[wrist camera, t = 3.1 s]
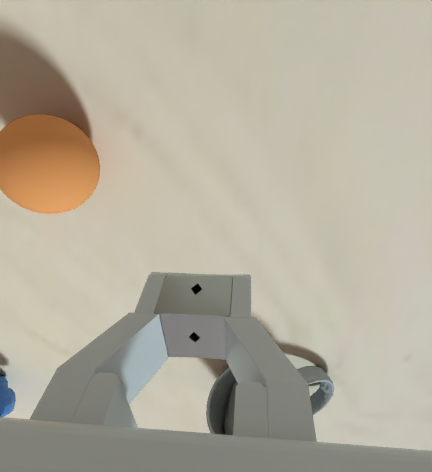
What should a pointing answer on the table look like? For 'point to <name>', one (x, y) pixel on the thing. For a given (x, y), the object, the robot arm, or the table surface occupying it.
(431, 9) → the table surface
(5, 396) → the blue flower
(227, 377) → the ceramic mug
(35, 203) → the ball
